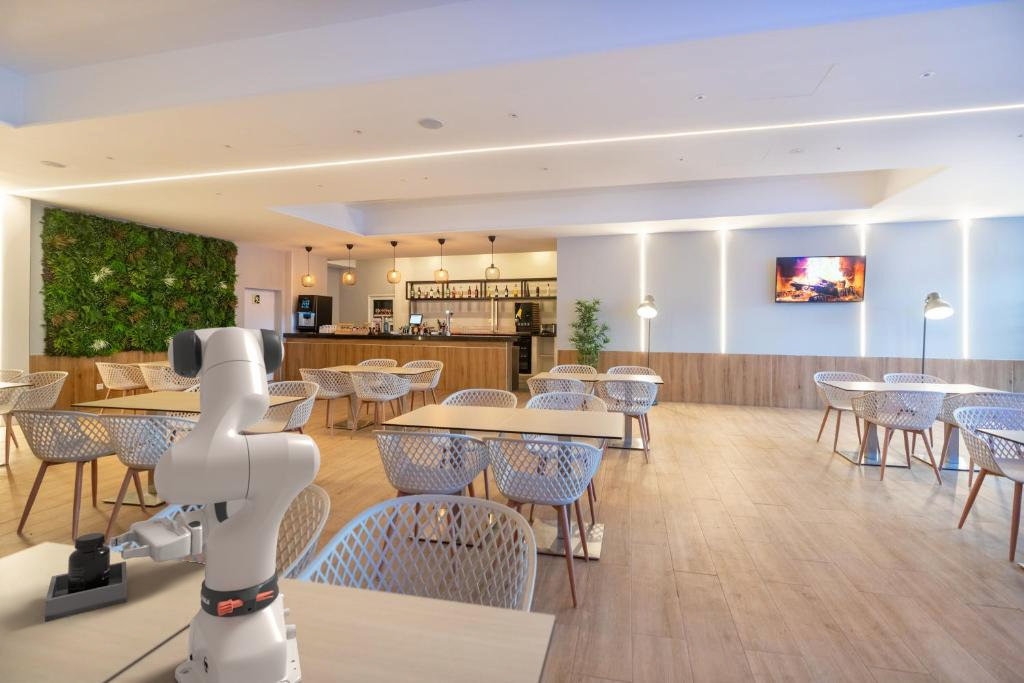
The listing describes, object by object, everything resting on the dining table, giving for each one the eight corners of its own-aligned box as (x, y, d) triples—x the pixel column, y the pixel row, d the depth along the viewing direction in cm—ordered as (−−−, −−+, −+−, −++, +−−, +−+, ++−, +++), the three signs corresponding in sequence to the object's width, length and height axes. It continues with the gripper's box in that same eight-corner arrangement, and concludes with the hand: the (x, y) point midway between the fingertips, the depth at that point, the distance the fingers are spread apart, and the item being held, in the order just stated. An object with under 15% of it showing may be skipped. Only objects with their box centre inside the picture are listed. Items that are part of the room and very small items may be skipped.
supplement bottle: (114, 590, 107) (116, 535, 107) (74, 604, 101) (75, 545, 101) (101, 582, 111) (103, 528, 111) (62, 594, 105) (63, 538, 105)
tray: (126, 601, 105) (127, 582, 105) (44, 621, 97) (45, 601, 97) (125, 578, 114) (126, 561, 114) (51, 595, 107) (51, 576, 107)
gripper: (173, 508, 126) (104, 522, 116) (203, 528, 113) (129, 547, 103) (172, 532, 126) (103, 549, 116) (203, 556, 113) (128, 577, 103)
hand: (116, 548), depth 109 cm, fingers open, 8 cm apart
